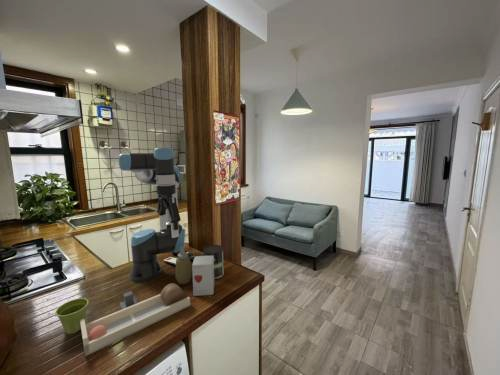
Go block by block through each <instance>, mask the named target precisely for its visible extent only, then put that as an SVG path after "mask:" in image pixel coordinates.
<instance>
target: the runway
mask: <svg viewBox="0 0 500 375" xmlns="http://www.w3.org/2000/svg"><path fill="white" fill-rule="evenodd" d="M189 307H191V298H190V296H187V297H185V299H183V300H181V301H178V302H176V303H174V304H172V305H169V306H166V305H165V304H164V302H163V301H162V300H161V293H159V294H157V295H154V296H152V297H149V298H147V299H145V300H141V301H139V302H138V303H137V304H134V305H132V306H129V307H127V308H125V309H119V310H117V311H115V312H113V313H110V314H107V315H105V316H103V317H100V318H98V319H95V320H93V321H90V322H88V323H86V324H85V320H84V319H81V320H80V324H81V329H80V331H81V337H82V343H83V350H84V356H85V357H87V356H90V355H91V354H94V353H95V352H98V351H100V350H102V349H104V348H106V347H108V346H110V345H112V344H114V343H116V342H118V341H120V340H122V339H124V338H127V337H129V336H131V335H132V334H136V333H137V332H139V331H142V330H143V329H146V328H147V327H150V326H151V325H153V324H155V323H158V322H160V321H161V320H164V319H166V318H168V317H170V316H172V315H174V314H177V313H178V312H180V311H183V310H184V309H186V308H189ZM99 325H103V326H105V327H106V329H107V334H105V335H103V336H101V337H99V338H96V339H94V340H92V341H90V340H89V334H90V332H91V330H92V329H93V328H94V327H96V326H99Z"/></svg>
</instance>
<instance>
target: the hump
mask: <svg viewBox="0 0 500 375" xmlns="http://www.w3.org/2000/svg"><path fill="white" fill-rule="evenodd" d="M160 294H161V300H162V301H163V302H164V304H165V305H166V306H169V305H172V304H174V303H176V302H178V301H181V300H183V299H185V298H186V295H185V292H184V291H183V289H182V288H181V287H180V286H179V285H178V283H169V284H167V285H165V286H164V287H163V289H162V290H161V292H160Z"/></svg>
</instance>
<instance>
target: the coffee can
mask: <svg viewBox="0 0 500 375" xmlns="http://www.w3.org/2000/svg"><path fill="white" fill-rule="evenodd" d="M202 251H203V256H214V280H217V279H220V278H222V277H223V276H224V273H225V272H224V247H223V246H222V245H218V244H211V245H207V246H205V247H203V250H202Z"/></svg>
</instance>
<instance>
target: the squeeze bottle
mask: <svg viewBox="0 0 500 375" xmlns="http://www.w3.org/2000/svg"><path fill="white" fill-rule="evenodd" d="M184 248H185V246H184V247H181V250H180V251H179V253H178V254H177V258H176V260H175V271H174V272H175V275H174V276H175V279H176V281H177V284H179V285H186V284H188V283H190V282H191V279H192V277H193V274H192V264H191V259H190V257H189V256H188V255H189V254H188V252H185V249H184Z"/></svg>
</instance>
